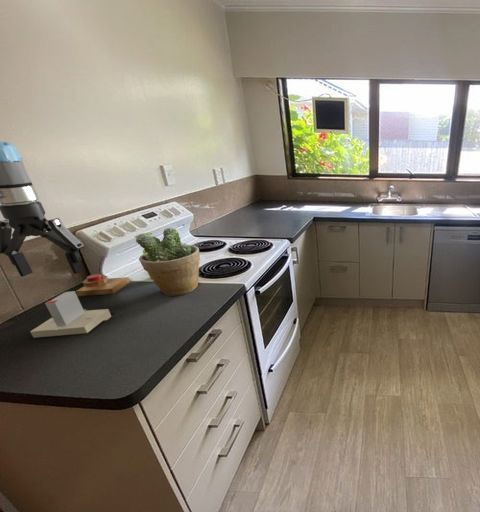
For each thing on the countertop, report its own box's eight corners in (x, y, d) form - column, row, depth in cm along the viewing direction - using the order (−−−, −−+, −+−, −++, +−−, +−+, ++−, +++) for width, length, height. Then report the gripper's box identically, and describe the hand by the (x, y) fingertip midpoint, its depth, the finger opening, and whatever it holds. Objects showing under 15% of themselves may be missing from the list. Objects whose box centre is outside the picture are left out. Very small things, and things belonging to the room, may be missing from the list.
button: (85, 282, 111) (83, 278, 110) (93, 278, 115) (91, 274, 114) (97, 281, 111) (95, 277, 111) (104, 277, 115) (103, 273, 114)
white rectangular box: (76, 313, 92) (65, 291, 89) (84, 312, 93) (74, 290, 90) (56, 326, 86) (44, 302, 83) (66, 325, 86) (54, 302, 83)
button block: (76, 296, 108) (72, 287, 107) (96, 284, 118) (92, 275, 116) (113, 293, 110) (109, 284, 109) (130, 281, 119) (127, 273, 118)
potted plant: (170, 279, 121) (152, 222, 112) (216, 277, 123) (202, 221, 114) (140, 302, 105) (116, 237, 95) (194, 299, 106) (175, 235, 97)
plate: (32, 341, 84) (27, 332, 83) (65, 319, 95) (61, 311, 93) (86, 336, 86) (82, 327, 85) (112, 315, 97) (109, 307, 96)
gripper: (-53, 207, 73) (-10, 281, 81) (59, 204, 76) (90, 276, 84) (-20, 201, 79) (17, 270, 88) (82, 198, 83) (109, 265, 91)
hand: (53, 273), depth 86 cm, fingers open, 13 cm apart
